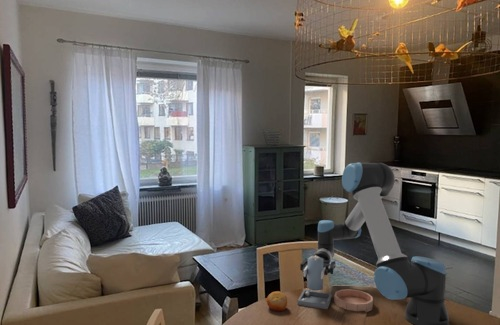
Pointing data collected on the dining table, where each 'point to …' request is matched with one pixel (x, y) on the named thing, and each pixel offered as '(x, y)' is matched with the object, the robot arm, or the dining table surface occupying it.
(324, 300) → the parts tray
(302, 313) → the dining table surface
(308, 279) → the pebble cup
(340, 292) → the bowl
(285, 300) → the fruit
